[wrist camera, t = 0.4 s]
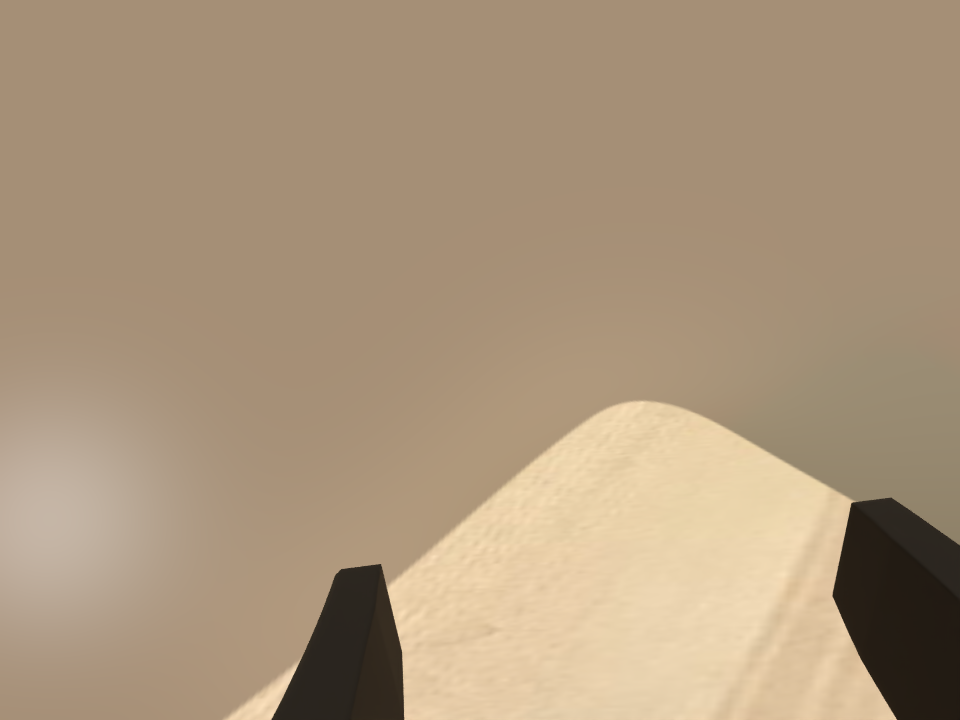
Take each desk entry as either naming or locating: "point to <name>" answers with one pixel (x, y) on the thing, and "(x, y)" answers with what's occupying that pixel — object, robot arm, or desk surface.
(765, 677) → the desk surface
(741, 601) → the desk surface
